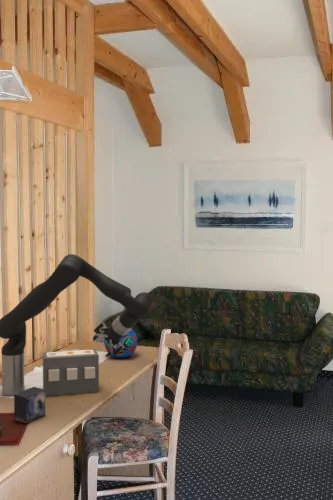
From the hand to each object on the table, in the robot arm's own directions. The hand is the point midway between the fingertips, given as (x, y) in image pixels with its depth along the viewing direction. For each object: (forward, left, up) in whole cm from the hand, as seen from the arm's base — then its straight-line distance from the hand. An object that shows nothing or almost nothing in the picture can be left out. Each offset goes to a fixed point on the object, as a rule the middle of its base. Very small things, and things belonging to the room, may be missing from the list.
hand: (100, 347), depth 242 cm
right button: (-5, +1, -13) cm, 14 cm away
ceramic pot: (+19, +55, -20) cm, 61 cm away
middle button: (-12, +1, -13) cm, 18 cm away
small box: (-30, -22, -20) cm, 42 cm away
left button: (-20, +1, -13) cm, 24 cm away
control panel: (-12, +7, -20) cm, 24 cm away
